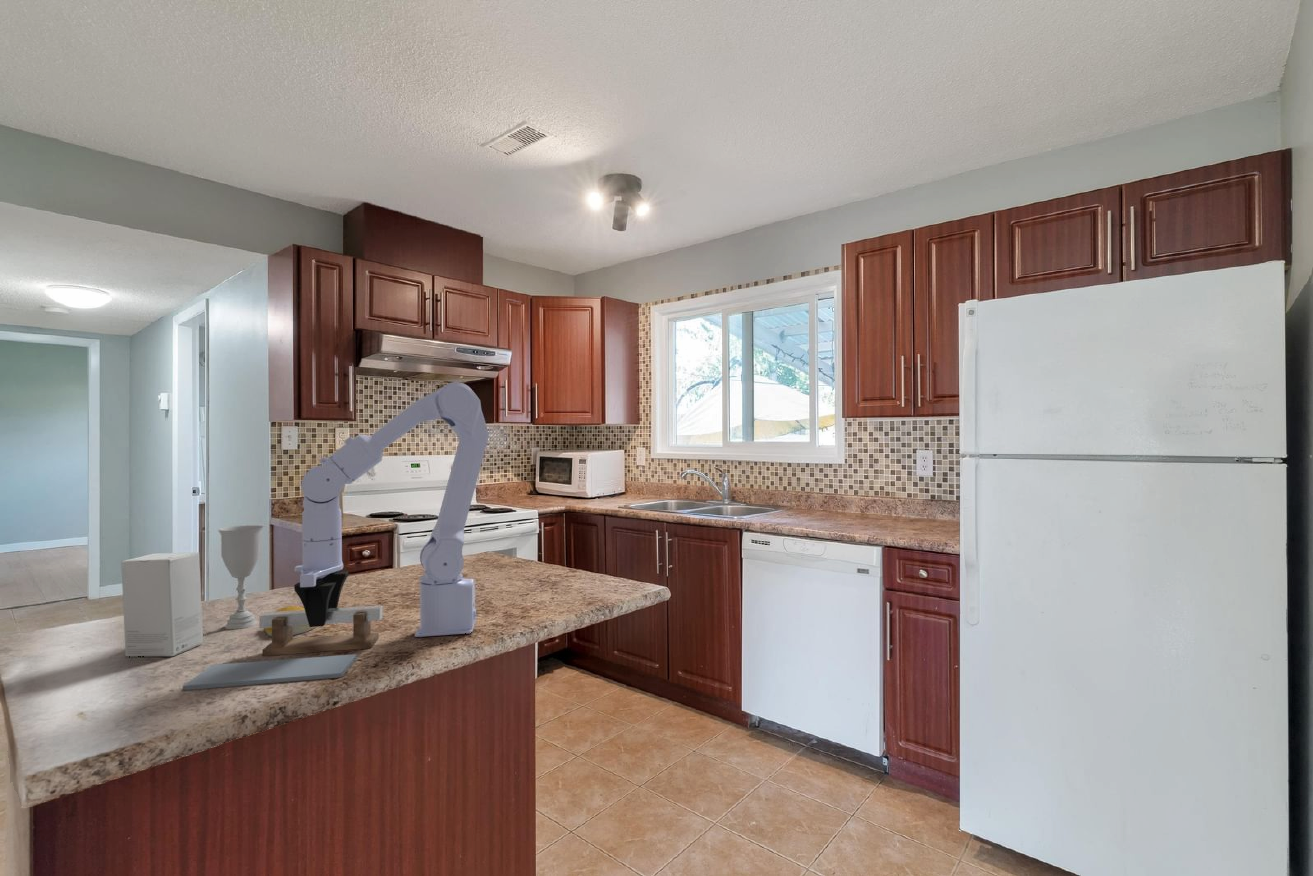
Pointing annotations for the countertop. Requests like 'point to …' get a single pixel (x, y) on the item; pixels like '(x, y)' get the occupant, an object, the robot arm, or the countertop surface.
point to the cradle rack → (319, 639)
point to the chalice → (240, 566)
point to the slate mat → (271, 671)
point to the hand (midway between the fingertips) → (322, 621)
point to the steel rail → (332, 616)
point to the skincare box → (162, 604)
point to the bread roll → (295, 628)
